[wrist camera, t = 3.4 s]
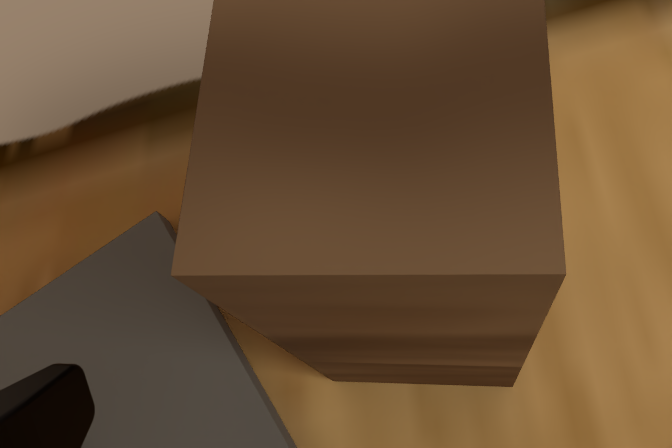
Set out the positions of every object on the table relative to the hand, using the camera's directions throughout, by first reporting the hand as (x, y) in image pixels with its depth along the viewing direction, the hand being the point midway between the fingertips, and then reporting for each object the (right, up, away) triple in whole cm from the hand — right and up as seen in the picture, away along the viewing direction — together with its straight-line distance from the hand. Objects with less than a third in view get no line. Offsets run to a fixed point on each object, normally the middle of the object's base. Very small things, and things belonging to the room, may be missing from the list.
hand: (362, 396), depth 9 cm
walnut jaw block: (+2, 0, +12) cm, 12 cm away
